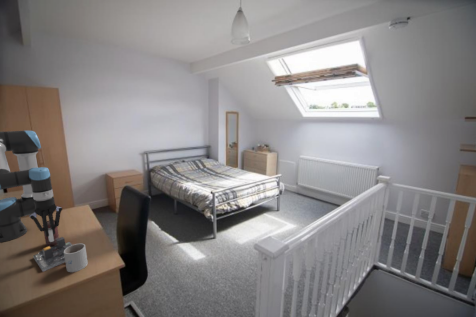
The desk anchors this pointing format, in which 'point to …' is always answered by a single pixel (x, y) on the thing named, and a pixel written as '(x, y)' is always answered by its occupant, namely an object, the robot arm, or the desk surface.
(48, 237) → the robot arm
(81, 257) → the mug
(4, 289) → the desk surface
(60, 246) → the block
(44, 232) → the can
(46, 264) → the panel
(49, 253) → the block
